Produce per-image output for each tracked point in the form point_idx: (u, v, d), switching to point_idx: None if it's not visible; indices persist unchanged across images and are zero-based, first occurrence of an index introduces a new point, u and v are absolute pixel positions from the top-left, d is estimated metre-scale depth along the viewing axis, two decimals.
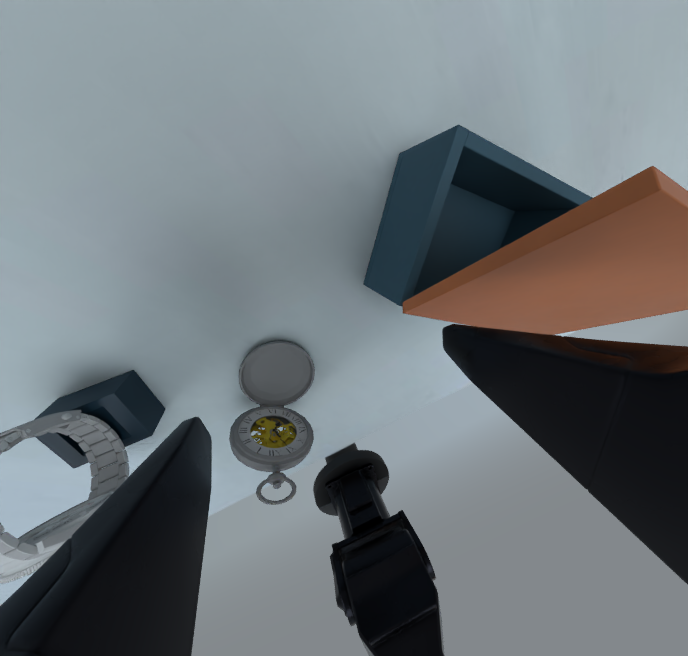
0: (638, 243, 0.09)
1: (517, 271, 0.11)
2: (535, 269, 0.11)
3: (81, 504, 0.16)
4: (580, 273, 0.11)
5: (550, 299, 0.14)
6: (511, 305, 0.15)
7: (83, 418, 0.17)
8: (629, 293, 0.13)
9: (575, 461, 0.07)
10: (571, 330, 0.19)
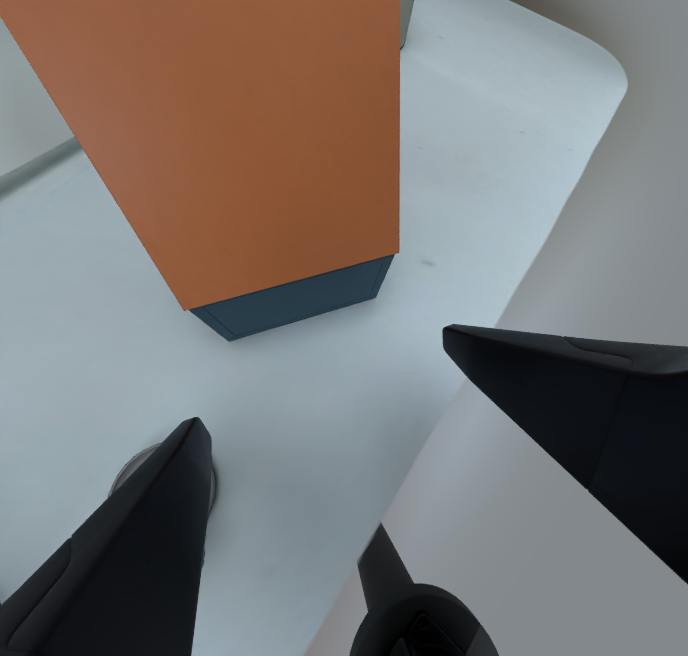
0: (116, 53, 0.09)
1: (122, 165, 0.10)
2: (129, 150, 0.10)
3: None
4: (173, 124, 0.10)
5: (247, 180, 0.12)
6: (238, 217, 0.13)
7: None
8: (284, 113, 0.11)
9: (575, 461, 0.07)
10: (395, 212, 0.15)
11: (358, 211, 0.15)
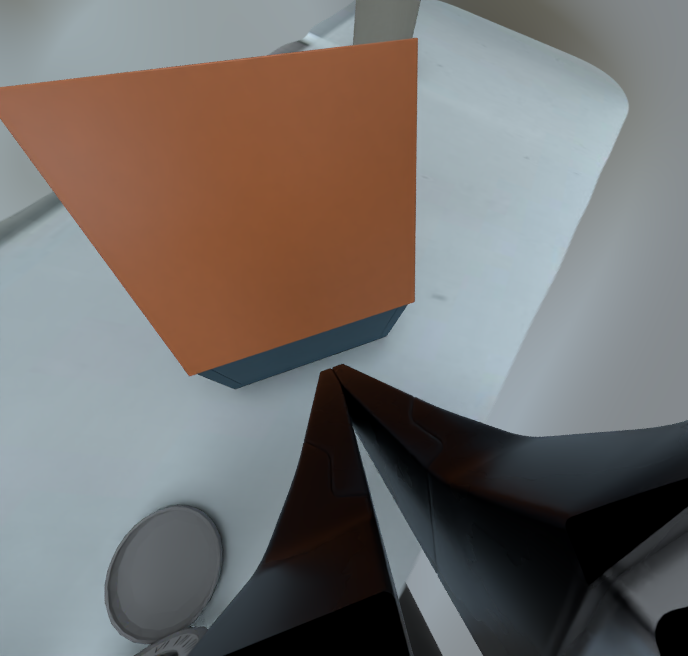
0: (118, 135, 0.08)
1: (124, 242, 0.10)
2: (131, 228, 0.10)
3: None
4: (179, 199, 0.10)
5: (256, 247, 0.11)
6: (247, 283, 0.12)
7: None
8: (296, 180, 0.11)
9: (423, 541, 0.06)
10: (410, 264, 0.15)
11: (372, 266, 0.14)
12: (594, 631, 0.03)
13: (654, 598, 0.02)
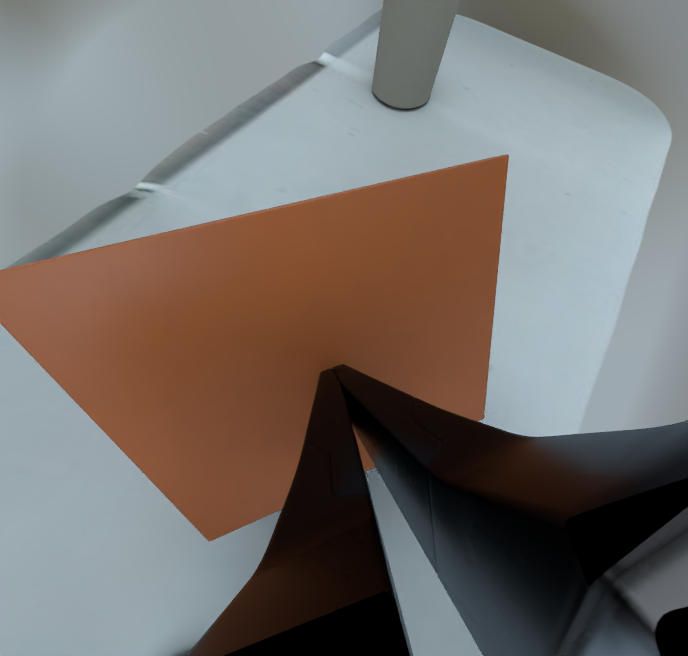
0: (140, 304, 0.06)
1: (138, 416, 0.07)
2: (148, 399, 0.07)
3: None
4: (211, 359, 0.07)
5: (302, 394, 0.09)
6: (287, 433, 0.09)
7: None
8: (356, 318, 0.08)
9: (423, 541, 0.06)
10: (482, 382, 0.12)
11: (438, 391, 0.11)
12: (594, 631, 0.03)
13: (655, 599, 0.02)
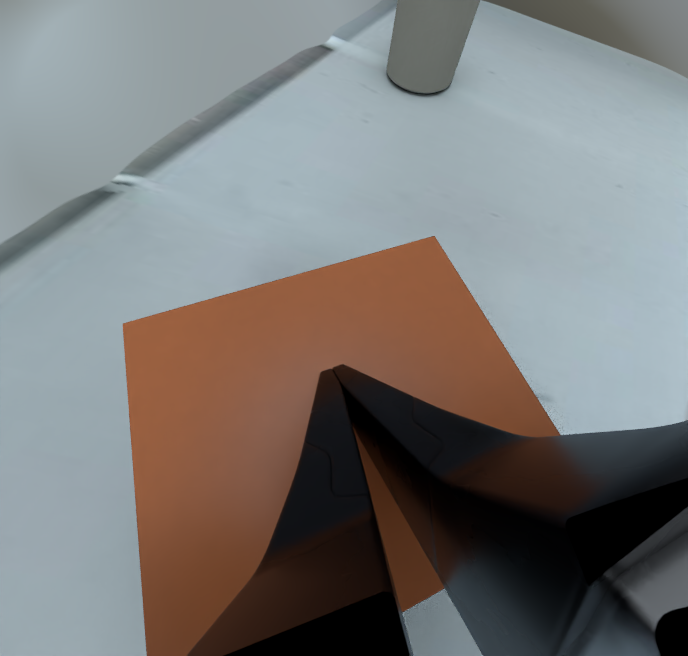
0: (201, 333, 0.10)
1: (164, 432, 0.08)
2: (178, 413, 0.09)
3: None
4: (234, 376, 0.09)
5: None
6: None
7: None
8: (353, 340, 0.10)
9: (423, 541, 0.06)
10: (545, 422, 0.09)
11: None
12: (593, 631, 0.03)
13: (654, 598, 0.02)
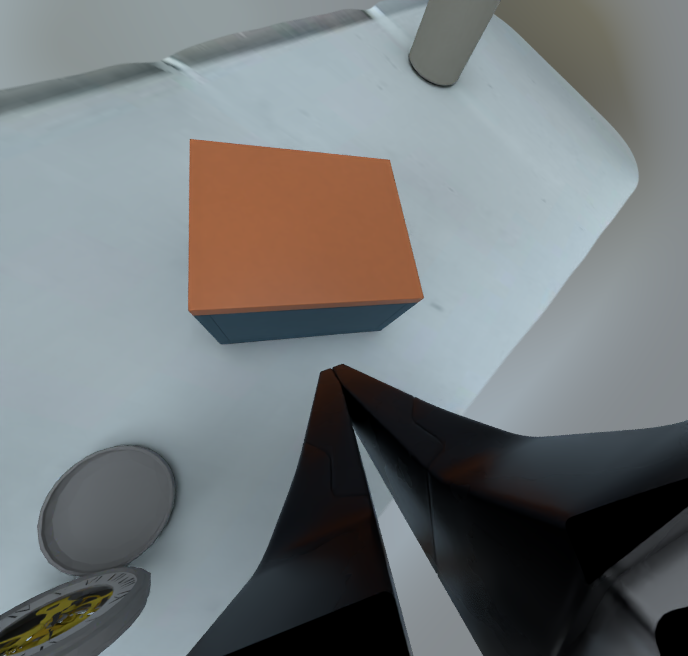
0: (236, 160, 0.16)
1: (208, 198, 0.15)
2: (217, 193, 0.15)
3: None
4: (252, 187, 0.16)
5: (289, 220, 0.16)
6: (275, 241, 0.15)
7: None
8: (323, 194, 0.17)
9: (423, 541, 0.06)
10: (411, 262, 0.17)
11: (378, 255, 0.17)
12: (594, 631, 0.03)
13: (655, 598, 0.02)
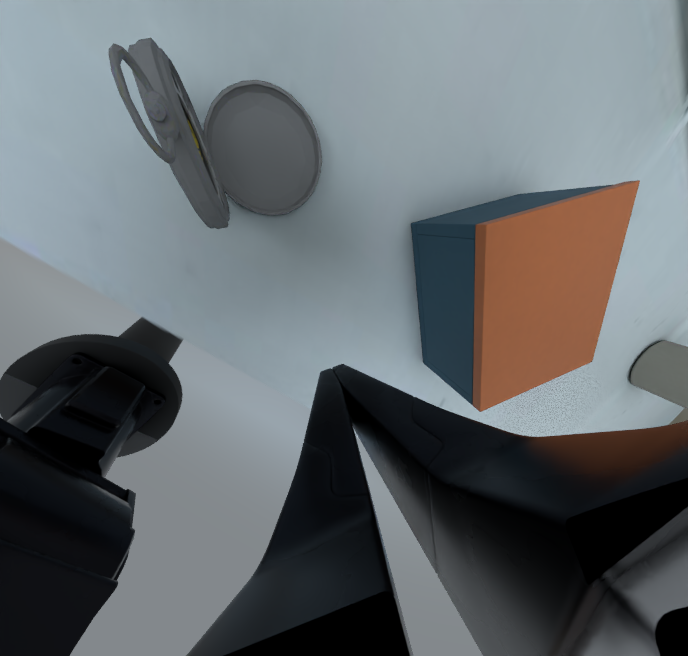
0: (612, 230, 0.17)
1: (581, 214, 0.15)
2: (585, 221, 0.16)
3: None
4: (586, 252, 0.17)
5: (553, 292, 0.17)
6: (537, 285, 0.16)
7: None
8: (571, 315, 0.19)
9: (423, 541, 0.06)
10: (507, 396, 0.20)
11: (516, 370, 0.19)
12: (594, 631, 0.03)
13: (655, 599, 0.02)
